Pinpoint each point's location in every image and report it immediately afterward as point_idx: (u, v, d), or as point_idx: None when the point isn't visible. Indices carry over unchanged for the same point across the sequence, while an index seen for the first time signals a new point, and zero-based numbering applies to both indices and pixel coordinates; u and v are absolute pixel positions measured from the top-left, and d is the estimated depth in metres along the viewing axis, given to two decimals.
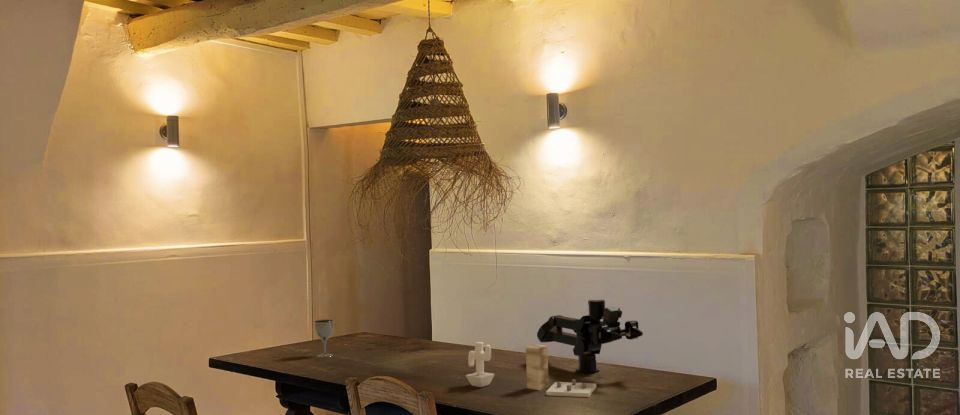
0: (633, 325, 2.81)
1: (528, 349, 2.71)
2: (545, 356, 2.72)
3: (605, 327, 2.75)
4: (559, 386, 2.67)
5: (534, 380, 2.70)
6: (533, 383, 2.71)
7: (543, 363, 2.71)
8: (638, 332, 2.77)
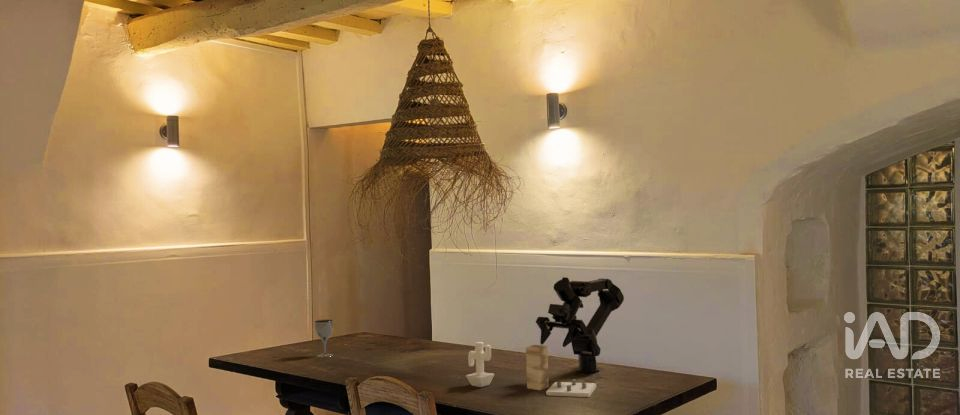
0: (570, 329, 2.76)
1: (528, 349, 2.71)
2: (545, 356, 2.72)
3: (541, 324, 2.84)
4: (559, 386, 2.67)
5: (534, 380, 2.70)
6: (533, 383, 2.71)
7: (543, 363, 2.71)
8: None
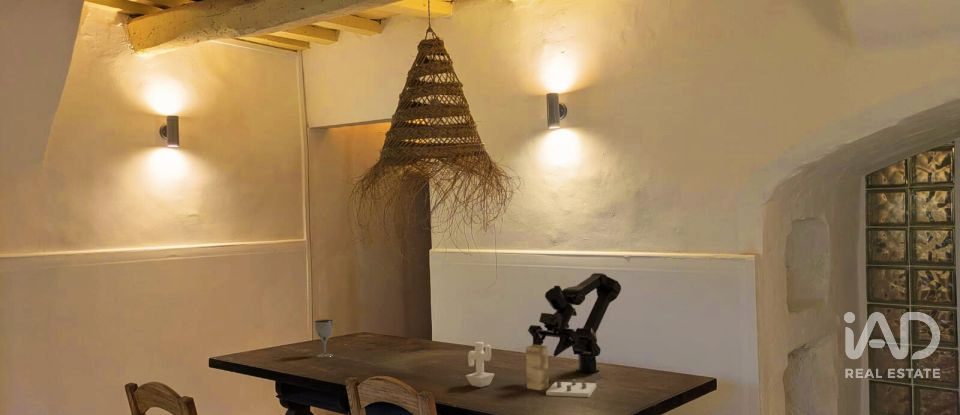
0: (561, 338, 2.73)
1: (528, 349, 2.71)
2: (545, 356, 2.72)
3: (533, 333, 2.81)
4: (559, 386, 2.67)
5: (534, 380, 2.70)
6: (533, 383, 2.71)
7: (543, 363, 2.71)
8: None
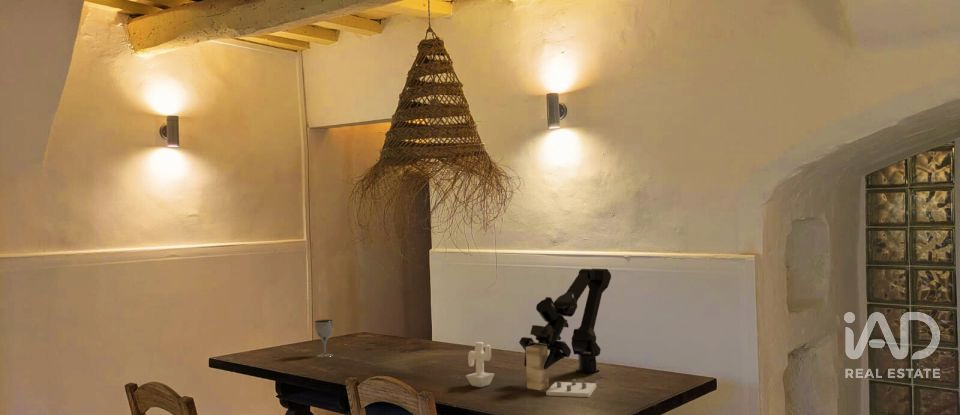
0: (551, 351, 2.70)
1: (528, 349, 2.71)
2: (545, 356, 2.72)
3: (525, 345, 2.77)
4: (559, 386, 2.67)
5: (534, 380, 2.70)
6: (533, 383, 2.71)
7: (543, 363, 2.71)
8: None
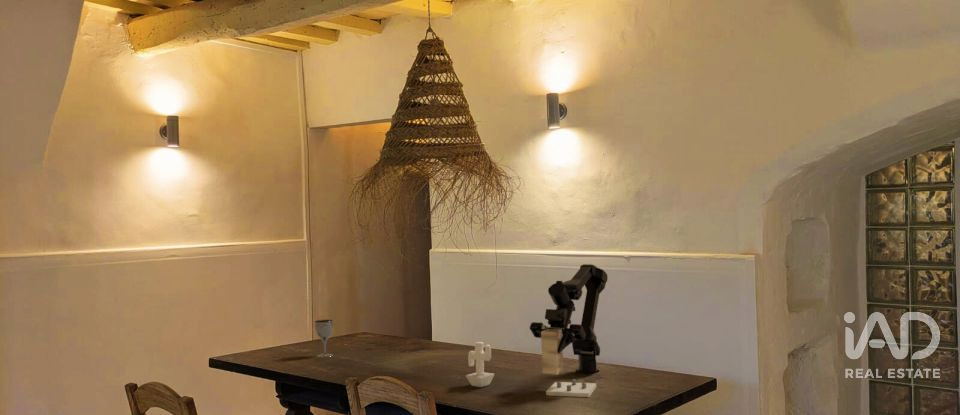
0: (564, 334, 2.68)
1: (544, 334, 2.67)
2: (560, 340, 2.68)
3: (541, 330, 2.72)
4: (559, 386, 2.67)
5: (550, 365, 2.66)
6: (550, 368, 2.66)
7: None
8: None
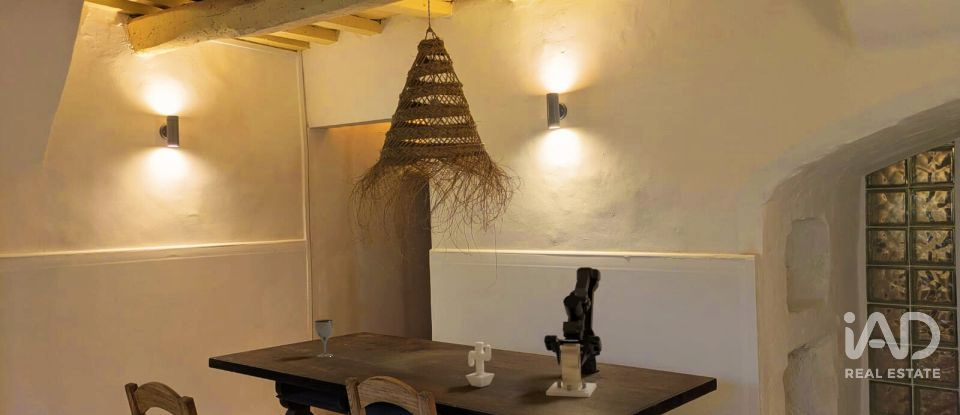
0: (585, 346, 2.66)
1: (565, 348, 2.64)
2: (579, 354, 2.67)
3: (555, 343, 2.69)
4: (559, 386, 2.67)
5: (571, 380, 2.64)
6: (570, 383, 2.64)
7: (578, 361, 2.66)
8: None
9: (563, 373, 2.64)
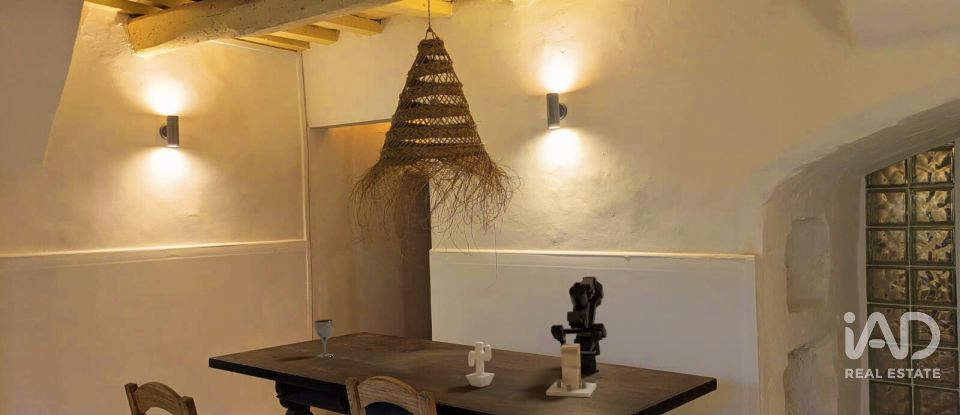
0: (592, 334, 2.74)
1: (565, 348, 2.64)
2: (579, 354, 2.67)
3: (558, 333, 2.78)
4: (559, 386, 2.67)
5: (571, 380, 2.64)
6: (570, 383, 2.64)
7: (578, 361, 2.65)
8: None
9: (563, 373, 2.64)
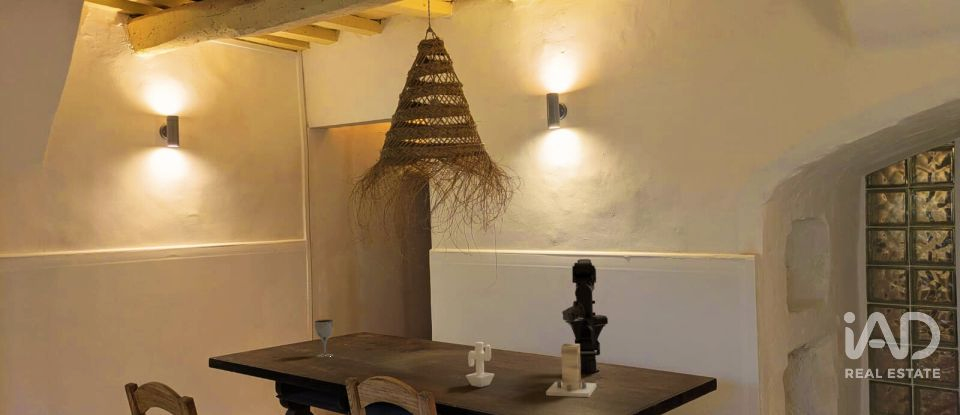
0: (590, 328, 2.76)
1: (565, 348, 2.64)
2: (579, 354, 2.67)
3: (568, 323, 2.86)
4: (559, 386, 2.67)
5: (571, 380, 2.64)
6: (570, 383, 2.64)
7: (578, 361, 2.65)
8: None
9: (563, 373, 2.64)
